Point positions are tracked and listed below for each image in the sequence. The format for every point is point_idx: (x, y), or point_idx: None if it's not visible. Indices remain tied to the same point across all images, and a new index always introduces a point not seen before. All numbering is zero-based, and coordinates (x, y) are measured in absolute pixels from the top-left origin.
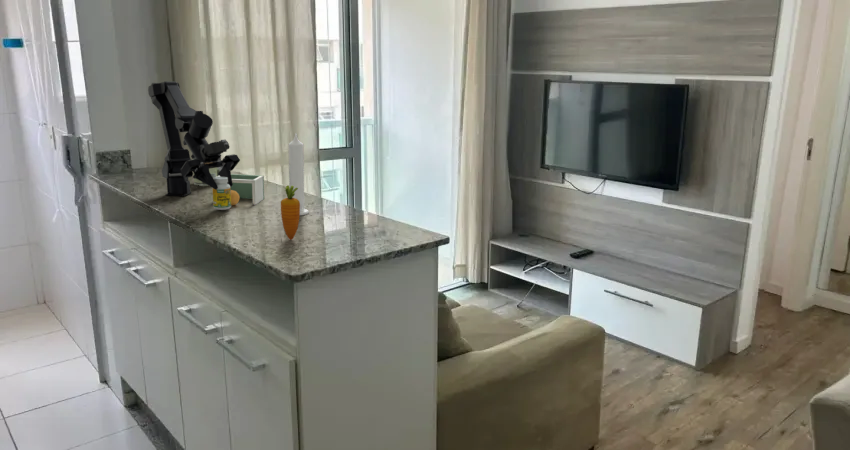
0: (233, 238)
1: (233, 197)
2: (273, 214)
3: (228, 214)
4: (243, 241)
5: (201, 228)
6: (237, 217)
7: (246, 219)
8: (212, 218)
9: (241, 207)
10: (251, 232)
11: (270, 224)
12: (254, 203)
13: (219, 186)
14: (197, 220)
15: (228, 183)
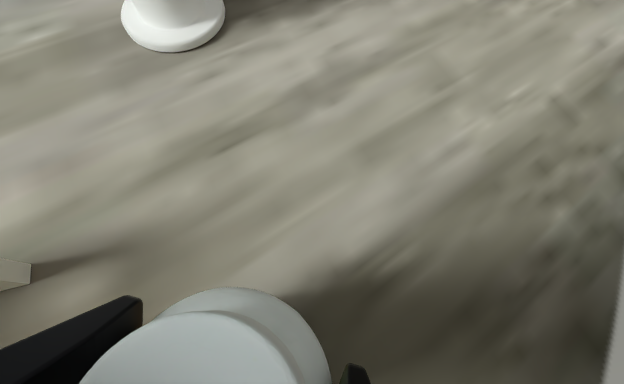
0: (610, 39)
1: None
2: (234, 79)
3: (329, 262)
4: (607, 3)
5: (618, 210)
6: (361, 183)
7: (371, 129)
8: (449, 286)
9: None
10: (515, 28)
11: (388, 23)
12: (25, 270)
13: (314, 363)
14: (534, 335)
15: None
